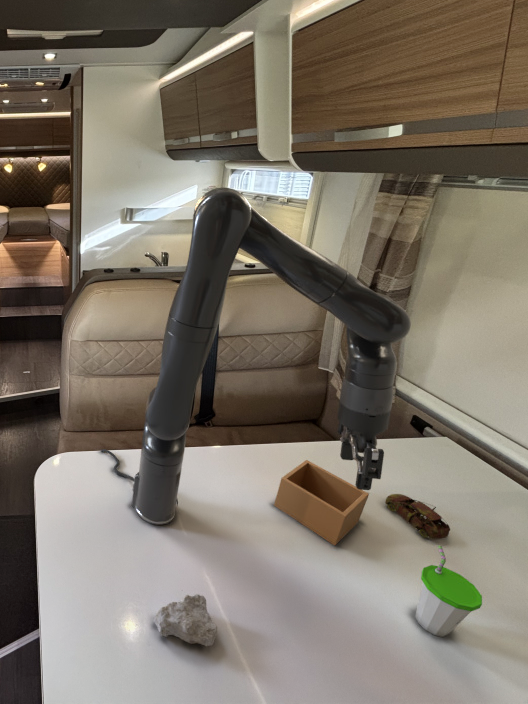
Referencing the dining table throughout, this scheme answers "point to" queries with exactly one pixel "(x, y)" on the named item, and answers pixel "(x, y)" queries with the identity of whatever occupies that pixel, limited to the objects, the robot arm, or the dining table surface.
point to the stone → (187, 620)
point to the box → (321, 501)
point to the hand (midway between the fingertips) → (354, 473)
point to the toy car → (419, 516)
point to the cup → (445, 599)
